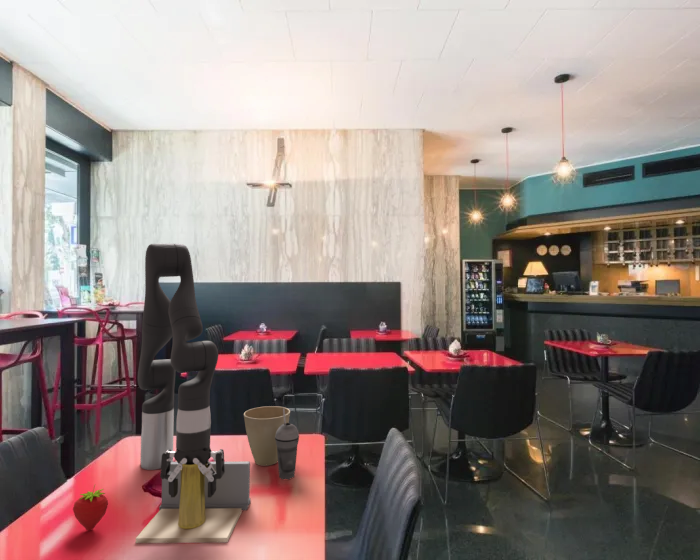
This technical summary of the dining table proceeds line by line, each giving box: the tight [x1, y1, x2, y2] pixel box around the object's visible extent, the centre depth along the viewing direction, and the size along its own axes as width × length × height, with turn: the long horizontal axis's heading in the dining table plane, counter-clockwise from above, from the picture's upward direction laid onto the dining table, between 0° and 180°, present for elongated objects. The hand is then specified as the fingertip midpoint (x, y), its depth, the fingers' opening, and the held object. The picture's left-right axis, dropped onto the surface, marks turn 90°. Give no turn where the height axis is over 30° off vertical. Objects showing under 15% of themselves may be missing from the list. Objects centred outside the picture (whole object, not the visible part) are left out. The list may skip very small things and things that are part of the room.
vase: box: [178, 464, 206, 529], centre depth 93 cm, size 6×6×14 cm
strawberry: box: [72, 484, 109, 531], centre depth 92 cm, size 6×8×10 cm
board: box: [135, 508, 242, 544], centre depth 93 cm, size 20×12×1 cm, turn 91°
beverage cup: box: [275, 409, 300, 480], centre depth 119 cm, size 7×7×20 cm
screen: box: [158, 461, 252, 512], centre depth 102 cm, size 22×4×11 cm, turn 91°
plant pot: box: [243, 405, 291, 467], centre depth 130 cm, size 15×15×16 cm
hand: (192, 495), depth 93 cm, fingers open, 8 cm apart
